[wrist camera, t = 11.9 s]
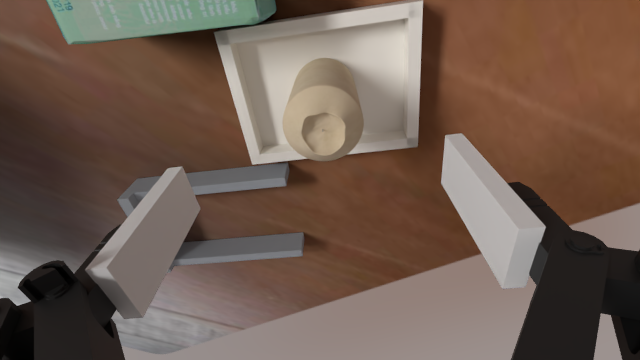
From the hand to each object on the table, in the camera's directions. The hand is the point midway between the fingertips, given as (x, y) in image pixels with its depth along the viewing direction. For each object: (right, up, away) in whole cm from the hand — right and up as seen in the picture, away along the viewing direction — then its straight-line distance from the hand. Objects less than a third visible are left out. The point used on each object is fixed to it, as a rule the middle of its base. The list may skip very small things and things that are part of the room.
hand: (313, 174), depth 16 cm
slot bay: (-10, -4, +21) cm, 24 cm away
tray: (+1, +8, +13) cm, 15 cm away
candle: (+1, +8, +13) cm, 15 cm away
